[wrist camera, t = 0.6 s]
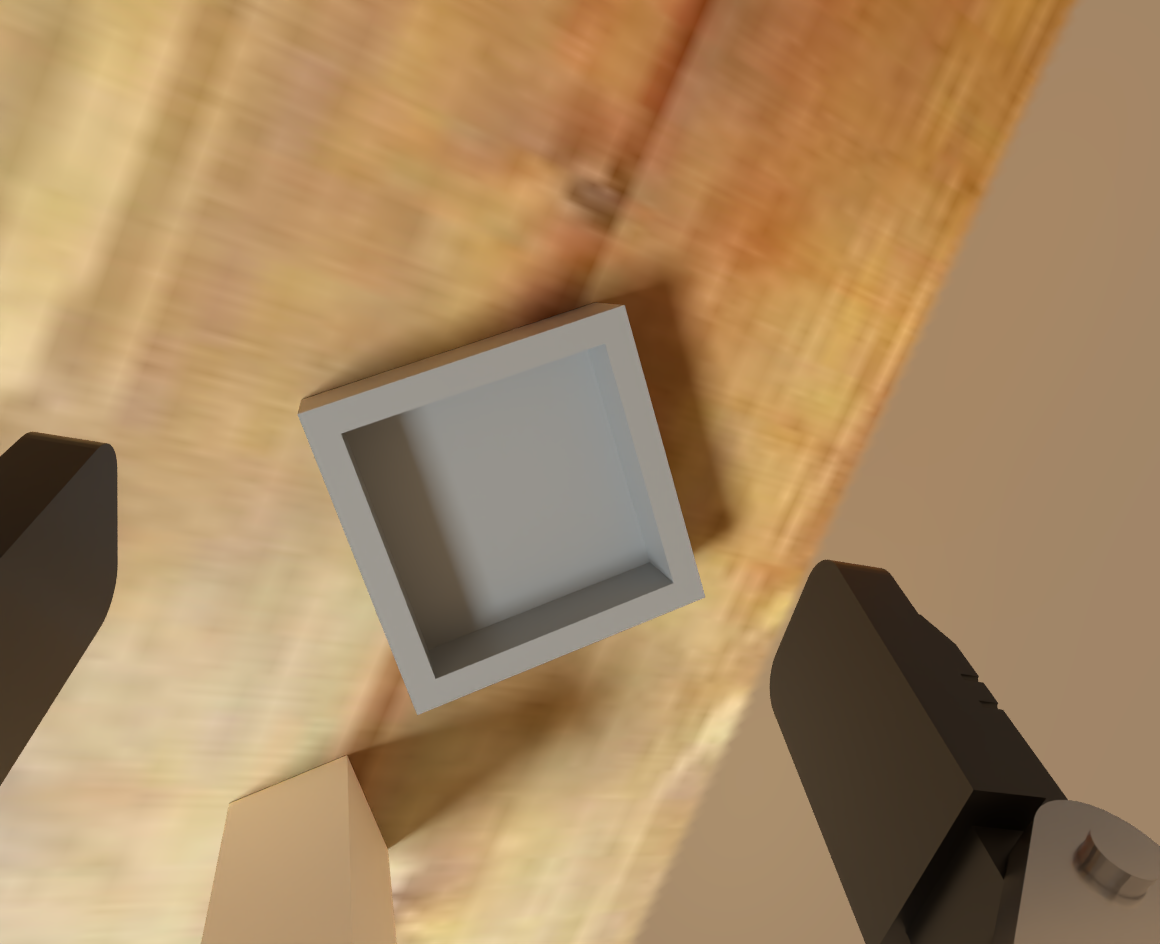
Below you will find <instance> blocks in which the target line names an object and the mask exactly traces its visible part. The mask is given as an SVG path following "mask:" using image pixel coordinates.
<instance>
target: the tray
mask: <svg viewBox="0 0 1160 944" xmlns="http://www.w3.org/2000/svg"><path fill="white" fill-rule="evenodd" d="M298 417H299V419H300V422H301V424H302V427H303V429H304V432H305V434H306V437H307V439H308V442H309V444H310V447H311V449H312V452H313V454H314V457H315V459H316V462H317V464H318V467H319V469H320V472H321V474H322V477H323V479H324V482H325V484H326V487H327V489H328V492H329V494H330V497H331V499H332V502H333V504H334V507H335V510H336V512H337V515H338V517H339V520H340V522H341V525H342V527H343V530H344V532H345V535H346V537H347V540H348V542H349V545H350V547H351V550H352V552H353V555H354V557H355V560H356V562H357V565H358V567H359V570H360V572H361V575H362V577H363V580H364V582H365V585H366V587H367V590H368V592H369V595H370V597H371V600H372V602H373V605H374V607H375V610H376V613H377V615H378V618H379V620H380V623H381V625H382V628H383V630H384V633H385V635H386V638H387V640H388V643H389V645H390V648H391V650H392V653H393V655H394V658H395V660H396V663H397V665H398V668H399V670H400V673H401V675H402V678H403V680H404V683H405V685H406V688H407V690H408V693H409V695H410V698H411V700H412V703H413V705H414V708H415V710H416V713H417V715H419V714H421V713H424V712H426V711H429V710H431V709H434V708H436V707H439V706H441V705H443V704H446V703H448V702H451V701H453V700H456V699H458V698H461V697H463V696H465V695H468V694H470V693H473V692H475V691H478V690H480V689H483V688H485V687H487V686H490V685H492V684H495V683H497V682H500V681H502V680H504V679H507V678H509V677H512V676H514V675H517V674H519V673H522V672H524V671H526V670H529V669H531V668H534V667H536V666H539V665H541V664H544V663H546V662H548V661H551V660H553V659H556V658H558V657H561V656H563V655H566V654H568V653H570V652H573V651H575V650H578V649H580V648H583V647H585V646H588V645H590V644H592V643H595V642H597V641H600V640H602V639H605V638H607V637H609V636H612V635H614V634H617V633H619V632H622V631H624V630H627V629H629V628H631V627H634V626H636V625H639V624H641V623H644V622H646V621H649V620H651V619H653V618H656V617H658V616H661V615H663V614H666V613H668V612H671V611H673V610H675V609H678V608H680V607H683V606H685V605H688V604H690V603H693V602H695V601H697V600H700V599H702V598H705V594H704V591H703V587H702V584H701V580H700V576H699V573H698V569H697V566H696V562H695V558H694V555H693V551H692V547H691V544H690V540H689V537H688V533H687V529H686V526H685V522H684V518H683V515H682V511H681V508H680V504H679V500H678V497H677V493H676V489H675V486H674V482H673V479H672V475H671V471H670V468H669V464H668V461H667V457H666V453H665V450H664V446H663V442H662V439H661V435H660V432H659V428H658V424H657V421H656V417H655V413H654V410H653V406H652V403H651V399H650V395H649V392H648V388H647V384H646V381H645V377H644V374H643V370H642V366H641V363H640V359H639V356H638V352H637V348H636V345H635V341H634V337H633V334H632V330H631V327H630V323H629V319H628V316H627V312H626V308H625V305H619V304H607V303H592V304H589V305H586V306H583V307H580V308H577V309H574V310H571V311H568V312H565V313H562V314H559V315H556V316H553V317H550V318H546V319H543V320H540V321H537V322H534V323H531V324H528V325H525V326H522V327H519V328H516V329H513V330H510V331H507V332H504V333H501V334H498V335H495V336H492V337H489V338H486V339H483V340H480V341H477V342H474V343H471V344H468V345H465V346H462V347H459V348H456V349H453V350H450V351H447V352H444V353H441V354H438V355H435V356H432V357H429V358H426V359H423V360H420V361H417V362H414V363H411V364H408V365H405V366H402V367H399V368H396V369H393V370H389V371H386V372H383V373H380V374H377V375H374V376H371V377H368V378H365V379H362V380H359V381H356V382H353V383H350V384H347V385H344V386H341V387H338V388H335V389H332V390H329V391H326V392H323V393H320V394H317V395H314V396H311V397H308V398H305V399H302V400H301V403H300V407H299V411H298Z"/></svg>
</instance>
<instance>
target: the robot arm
mask: <svg viewBox="0 0 1160 944" xmlns="http://www.w3.org/2000/svg"><path fill="white" fill-rule="evenodd" d="M117 564H118V558H117V459H116V454H115V451H114V449H113V447H112V446H111V445H110V444H107V443H101V442H94V441H88V440H82V439H76V438H69V437H63V436H57V435H51V434H44V433H38V432H29V433H26V434H25V435H24V436H22V437H21V438H20V439H19V440H18V441H17V442H16V443H15V444H13V445H12V446H11V447H10V448H9V449H8V450H7V451H6V452H5V453H4V454H3V455H1V456H0V785H1V784H2V782H3V781H4V779H5V778H6V776H7V774H8V773H9V771H10V770H11V768H12V766H13V765H14V763H15V762H16V760H17V759H18V757H19V755H20V754H21V752H22V751H23V749H24V747H25V746H26V744H27V743H28V741H29V740H30V738H31V736H32V735H33V733H34V732H35V730H36V728H37V727H38V725H39V724H40V722H41V720H42V719H43V717H44V716H45V714H46V713H47V711H48V709H49V708H50V706H51V705H52V703H53V701H54V700H55V698H56V697H57V695H58V694H59V692H60V690H61V689H62V687H63V686H64V684H65V682H66V681H67V679H68V678H69V676H70V675H71V673H72V671H73V670H74V668H75V667H76V665H77V663H78V662H79V660H80V659H81V657H82V655H83V654H84V652H85V651H86V649H87V648H88V646H89V644H90V643H91V641H92V640H93V638H94V636H95V635H96V633H97V632H98V630H99V629H100V627H101V625H102V623H103V622H104V619H105V617H106V615H107V613H108V610H109V607H110V604H111V601H112V597H113V594H114V589H115V584H116V578H117ZM770 698H771V704H772V708H773V711H774V714H775V716H776V719H777V721H778V724H779V726H780V729H781V731H782V734H783V736H784V739H785V742H786V744H787V746H788V749H789V752H790V754H791V756H792V759H793V761H794V764H795V767H796V769H797V772H798V774H799V777H800V779H801V782H802V784H803V787H804V789H805V792H806V795H807V797H808V799H809V802H810V804H811V807H812V810H813V812H814V815H815V817H816V820H817V822H818V825H819V827H820V830H821V832H822V835H823V837H824V840H825V842H826V845H827V847H828V850H829V853H830V855H831V858H832V860H833V863H834V865H835V868H836V870H837V873H838V875H839V878H840V880H841V883H842V885H843V888H844V890H845V893H846V895H847V898H848V900H849V903H850V906H851V908H852V910H853V913H854V916H855V918H856V921H857V923H858V926H859V928H860V931H861V933H862V936H863V938H864V941H865V943H866V944H1160V846H1159V845H1158V844H1157V843H1155V842H1154V841H1153V840H1152V839H1150V838H1149V837H1148V836H1147V835H1145V834H1144V833H1143V832H1141V831H1140V830H1138V829H1137V828H1135V827H1134V826H1132V825H1131V824H1129V823H1128V822H1126V821H1124V820H1122V819H1121V818H1119V817H1117V816H1115V815H1113V814H1111V813H1109V812H1107V811H1105V810H1102V809H1100V808H1097V807H1095V806H1092V805H1089V804H1085V803H1082V802H1078V801H1071V800H1068V799H1067V798H1066V797H1065V795H1064V794H1063V792H1062V791H1061V790H1060V788H1059V787H1058V786H1057V784H1056V783H1055V781H1054V780H1053V778H1052V777H1051V776H1050V774H1049V773H1048V772H1047V770H1046V769H1045V768H1044V766H1043V765H1042V763H1041V762H1040V761H1039V759H1038V758H1037V756H1036V755H1035V754H1034V752H1033V751H1032V749H1031V748H1030V747H1029V745H1028V744H1027V742H1026V741H1025V740H1024V738H1023V737H1022V736H1021V734H1020V733H1019V732H1018V730H1017V729H1016V727H1015V726H1014V725H1013V723H1012V722H1011V720H1010V719H1009V718H1008V716H1007V715H1006V713H1005V712H1004V711H1003V710H1000V709H998V708H997V704H998V702H997V701H996V700H995V698H994V697H993V695H992V694H991V693H990V691H989V690H988V688H987V687H986V686H985V684H984V683H981V682H978V675H977V673H976V672H975V671H974V669H973V668H972V666H971V665H970V664H969V662H968V661H967V659H966V658H965V657H964V655H963V654H962V652H961V651H960V650H959V648H958V647H957V646H956V644H955V643H953V642H952V641H951V640H950V639H949V638H948V637H946V636H945V635H944V634H943V633H942V632H940V631H939V630H938V629H937V628H936V627H934V626H933V625H932V624H931V623H929V622H928V621H927V620H926V619H925V618H924V617H923V616H921V615H919V614H918V613H917V611H916V610H915V608H914V607H913V606H912V604H911V603H910V601H909V600H908V598H907V597H906V596H905V594H904V593H903V591H902V590H901V588H900V587H899V585H898V584H897V583H896V581H895V580H894V578H893V577H892V576H891V574H890V573H889V572H888V571H886V570H885V569H882V568H876V567H870V566H864V565H858V564H851V563H845V562H838V561H832V560H823V561H821V562H819V563H818V564H817V565H816V566H815V567H814V568H813V570H812V572H811V573H810V575H809V577H808V580H807V582H806V584H805V587H804V589H803V592H802V594H801V596H800V599H799V601H798V603H797V606H796V608H795V610H794V613H793V615H792V617H791V620H790V622H789V625H788V627H787V629H786V632H785V634H784V636H783V639H782V641H781V643H780V646H779V648H778V650H777V653H776V655H775V658H774V661H773V665H772V669H771V676H770Z"/></svg>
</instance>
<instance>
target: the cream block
mask: <svg viewBox="0 0 1160 944" xmlns="http://www.w3.org/2000/svg"><path fill="white" fill-rule="evenodd" d="M201 944H397V942H396V931H395V921H394V910H393V900H392V889H391V878H390V868H389V857H388V849H387V846H386V844H385V842H384V839H383V837H382V835H381V832H380V830H379V828H378V826H377V823H376V821H375V819H374V816H373V814H372V812H371V809H370V807H369V805H368V802H367V800H366V798H365V795H364V793H363V791H362V788H361V786H360V784H359V781H358V779H357V777H356V774H355V772H354V770H353V768H352V765H351V763H350V761H349V758H348V756H347V755H346V756H343V757H341V758H338V759H336V760H334V761H331V762H329V763H326V764H324V765H321V766H319V767H317V768H314V769H312V770H309V771H307V772H304V773H302V774H300V775H297V776H295V777H292V778H290V779H287V780H285V781H283V782H280V783H278V784H275V785H273V786H270V787H268V788H266V789H263V790H261V791H258V792H256V793H253V794H251V795H249V796H246V797H244V798H241V799H239V800H236V801H234V802H232V803H229V807H228V812H227V817H226V822H225V827H224V832H223V837H222V842H221V847H220V852H219V857H218V862H217V867H216V872H215V877H214V882H213V887H212V892H211V897H210V902H209V907H208V912H207V917H206V922H205V927H204V932H203V937H202V942H201Z"/></svg>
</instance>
